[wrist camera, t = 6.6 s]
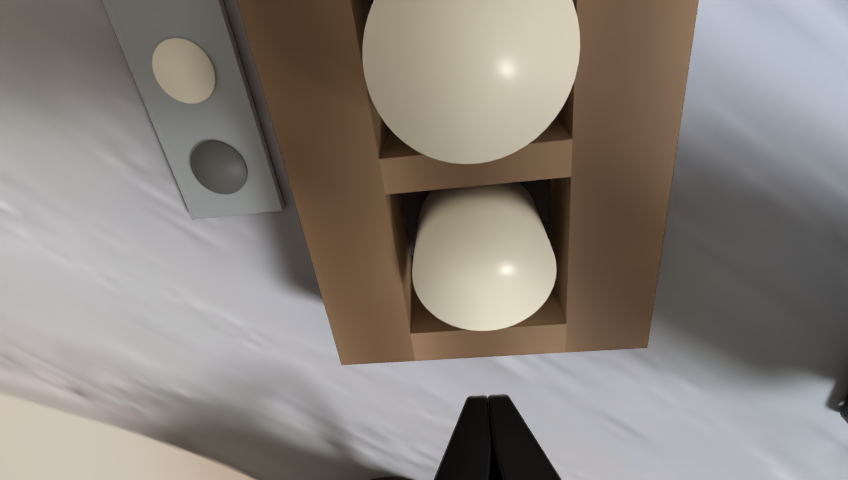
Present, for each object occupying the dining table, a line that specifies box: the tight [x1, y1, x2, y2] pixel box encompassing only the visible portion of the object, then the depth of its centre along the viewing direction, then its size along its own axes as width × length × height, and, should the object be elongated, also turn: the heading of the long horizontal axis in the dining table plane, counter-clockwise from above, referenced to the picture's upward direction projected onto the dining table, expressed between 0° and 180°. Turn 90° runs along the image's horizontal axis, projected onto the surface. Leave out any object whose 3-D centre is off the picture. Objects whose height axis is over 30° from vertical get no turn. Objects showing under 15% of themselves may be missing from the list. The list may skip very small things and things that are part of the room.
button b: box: [362, 0, 580, 164], centre depth 11 cm, size 4×4×3 cm
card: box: [101, 0, 285, 219], centre depth 15 cm, size 4×10×1 cm, turn 7°
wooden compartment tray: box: [237, 0, 699, 365], centre depth 13 cm, size 11×21×3 cm, turn 7°
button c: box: [412, 182, 557, 331], centre depth 15 cm, size 4×4×3 cm
